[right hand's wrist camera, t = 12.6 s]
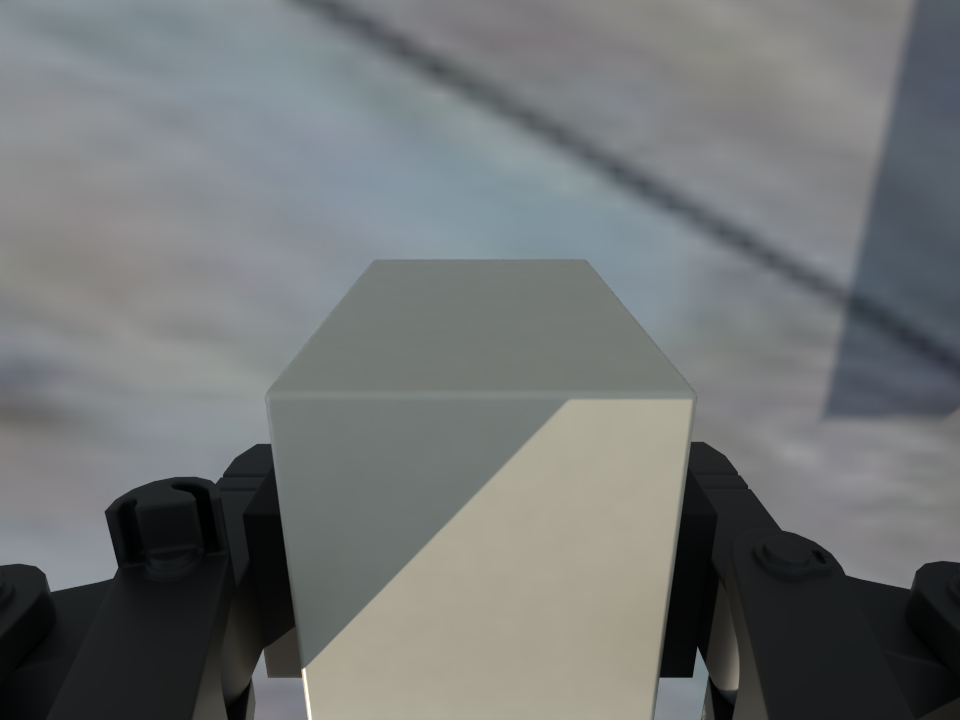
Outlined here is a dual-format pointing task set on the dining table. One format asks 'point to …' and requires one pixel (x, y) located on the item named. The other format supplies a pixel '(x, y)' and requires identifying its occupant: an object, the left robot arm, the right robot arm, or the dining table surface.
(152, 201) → the dining table surface
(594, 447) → the beam
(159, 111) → the dining table surface
